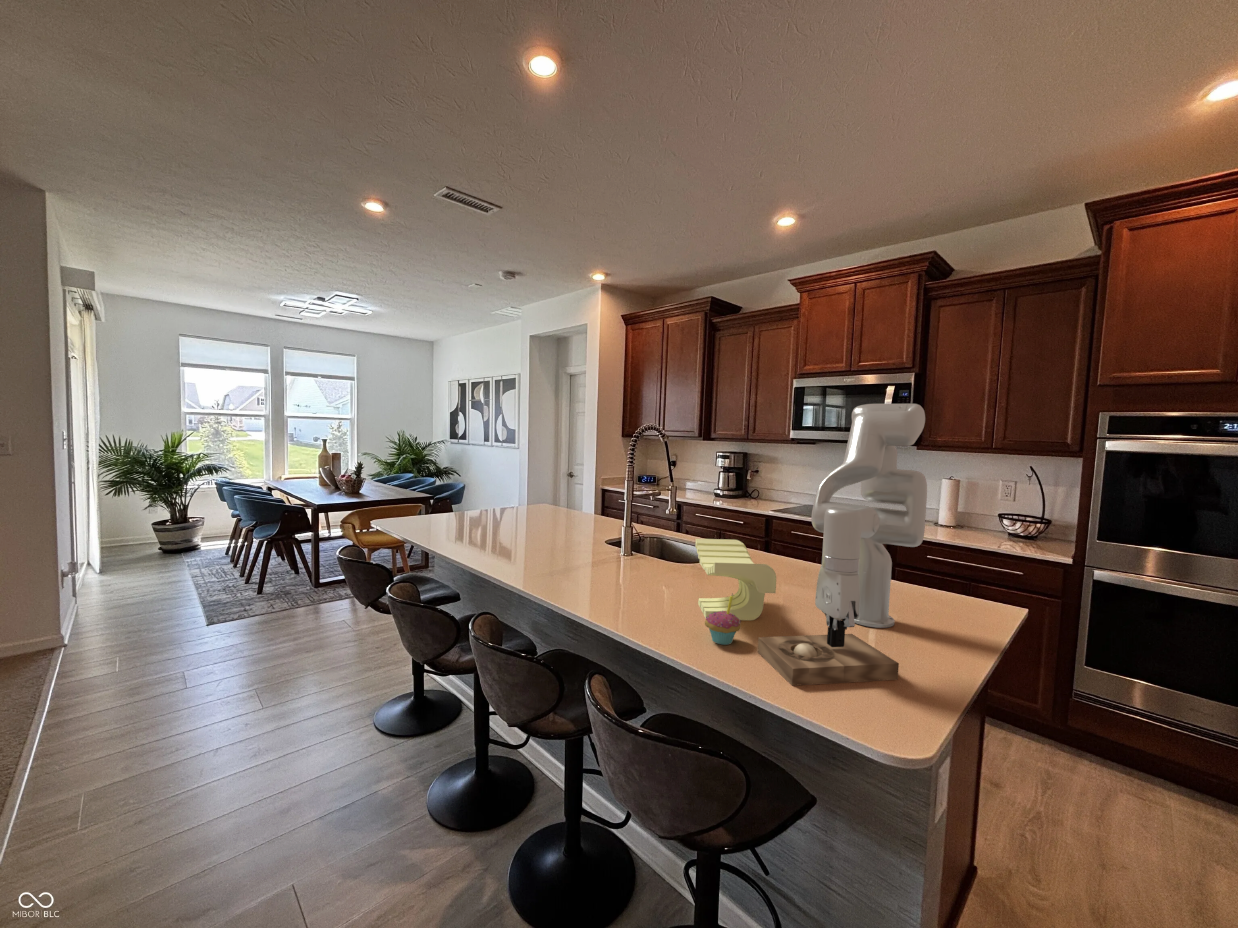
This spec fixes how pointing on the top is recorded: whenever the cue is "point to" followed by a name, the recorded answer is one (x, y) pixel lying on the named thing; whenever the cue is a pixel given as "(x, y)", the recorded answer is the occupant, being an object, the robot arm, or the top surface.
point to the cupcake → (723, 625)
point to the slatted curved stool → (737, 564)
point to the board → (827, 660)
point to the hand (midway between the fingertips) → (835, 645)
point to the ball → (805, 650)
